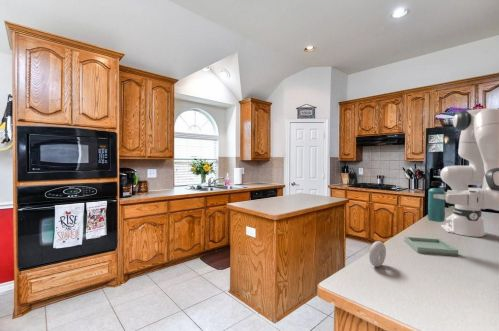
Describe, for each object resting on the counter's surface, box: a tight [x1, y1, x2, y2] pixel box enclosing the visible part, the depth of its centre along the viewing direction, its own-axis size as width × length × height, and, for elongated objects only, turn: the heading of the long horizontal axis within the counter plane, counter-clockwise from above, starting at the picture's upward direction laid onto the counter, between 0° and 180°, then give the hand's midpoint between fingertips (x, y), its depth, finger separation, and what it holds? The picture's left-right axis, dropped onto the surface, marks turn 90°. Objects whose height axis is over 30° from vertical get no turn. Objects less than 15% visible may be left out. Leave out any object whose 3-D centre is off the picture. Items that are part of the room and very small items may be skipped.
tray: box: [403, 236, 459, 257], centre depth 119 cm, size 16×16×2 cm
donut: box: [368, 240, 387, 268], centre depth 99 cm, size 10×4×10 cm, turn 130°
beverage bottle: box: [427, 180, 446, 223], centre depth 117 cm, size 6×7×20 cm
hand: (434, 194), depth 118 cm, fingers closed on beverage bottle, 6 cm apart
